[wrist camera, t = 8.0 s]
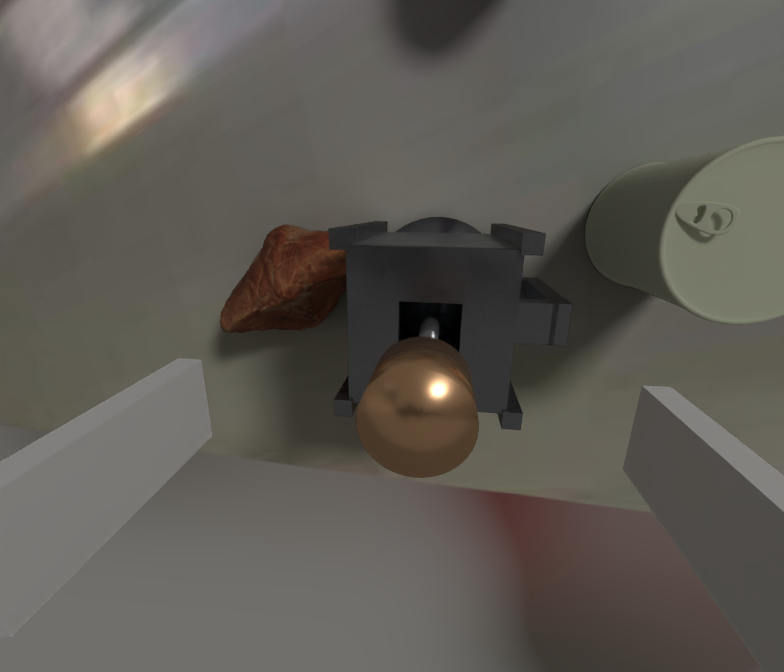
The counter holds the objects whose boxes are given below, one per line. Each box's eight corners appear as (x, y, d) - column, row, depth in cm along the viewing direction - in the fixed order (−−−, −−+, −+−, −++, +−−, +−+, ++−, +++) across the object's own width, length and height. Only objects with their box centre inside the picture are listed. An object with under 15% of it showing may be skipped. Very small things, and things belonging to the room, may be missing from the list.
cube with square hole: (372, 341, 36) (328, 421, 23) (372, 215, 33) (320, 219, 19) (521, 349, 35) (570, 440, 21) (537, 218, 31) (607, 225, 18)
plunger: (391, 330, 32) (310, 508, 13) (392, 245, 30) (298, 307, 11) (475, 335, 32) (522, 531, 12) (483, 247, 30) (552, 319, 10)
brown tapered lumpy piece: (381, 215, 29) (303, 297, 24) (400, 302, 35) (340, 386, 29) (257, 205, 35) (169, 270, 29) (290, 282, 41) (222, 349, 35)
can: (620, 145, 29) (730, 104, 18) (740, 185, 29) (930, 170, 18) (563, 264, 32) (627, 294, 21) (672, 302, 32) (797, 353, 21)
